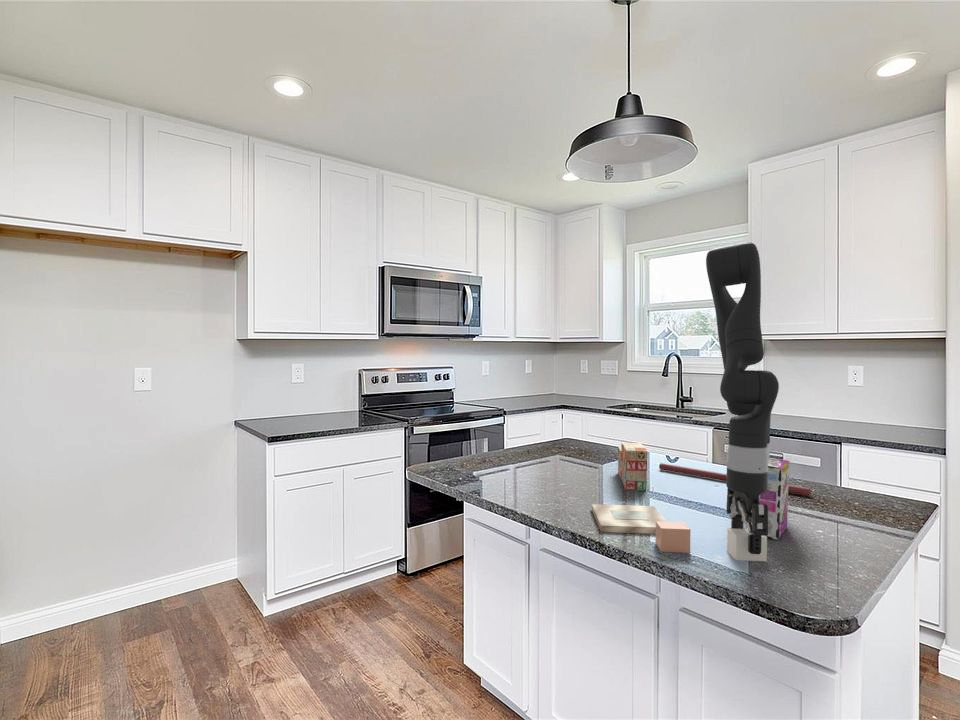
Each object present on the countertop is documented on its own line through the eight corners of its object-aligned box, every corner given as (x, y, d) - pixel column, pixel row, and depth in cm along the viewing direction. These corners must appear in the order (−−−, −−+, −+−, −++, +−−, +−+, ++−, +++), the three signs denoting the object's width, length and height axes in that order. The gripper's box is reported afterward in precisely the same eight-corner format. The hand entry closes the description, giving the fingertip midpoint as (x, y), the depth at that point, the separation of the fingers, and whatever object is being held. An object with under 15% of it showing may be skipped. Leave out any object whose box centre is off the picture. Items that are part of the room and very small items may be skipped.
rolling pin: (811, 496, 150) (811, 485, 149) (809, 498, 147) (809, 487, 147) (662, 469, 181) (662, 461, 181) (658, 471, 178) (658, 462, 178)
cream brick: (756, 552, 108) (757, 529, 108) (766, 561, 104) (767, 537, 104) (726, 551, 109) (727, 528, 109) (735, 560, 104) (736, 536, 104)
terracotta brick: (683, 544, 112) (684, 522, 112) (690, 552, 108) (690, 529, 108) (655, 543, 113) (655, 521, 113) (660, 551, 109) (661, 528, 108)
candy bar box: (780, 541, 114) (781, 468, 114) (755, 536, 117) (756, 464, 117) (788, 527, 123) (790, 459, 122) (765, 523, 126) (766, 456, 126)
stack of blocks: (617, 473, 176) (617, 437, 175) (636, 473, 175) (636, 437, 174) (625, 490, 155) (626, 449, 154) (647, 491, 154) (647, 450, 153)
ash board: (654, 511, 134) (654, 505, 134) (671, 534, 118) (671, 527, 118) (591, 509, 136) (592, 503, 136) (600, 531, 120) (600, 524, 120)
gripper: (783, 476, 98) (781, 560, 99) (751, 460, 112) (749, 533, 113) (742, 474, 99) (740, 558, 99) (715, 459, 113) (714, 532, 114)
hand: (745, 545), depth 106 cm, fingers open, 8 cm apart
